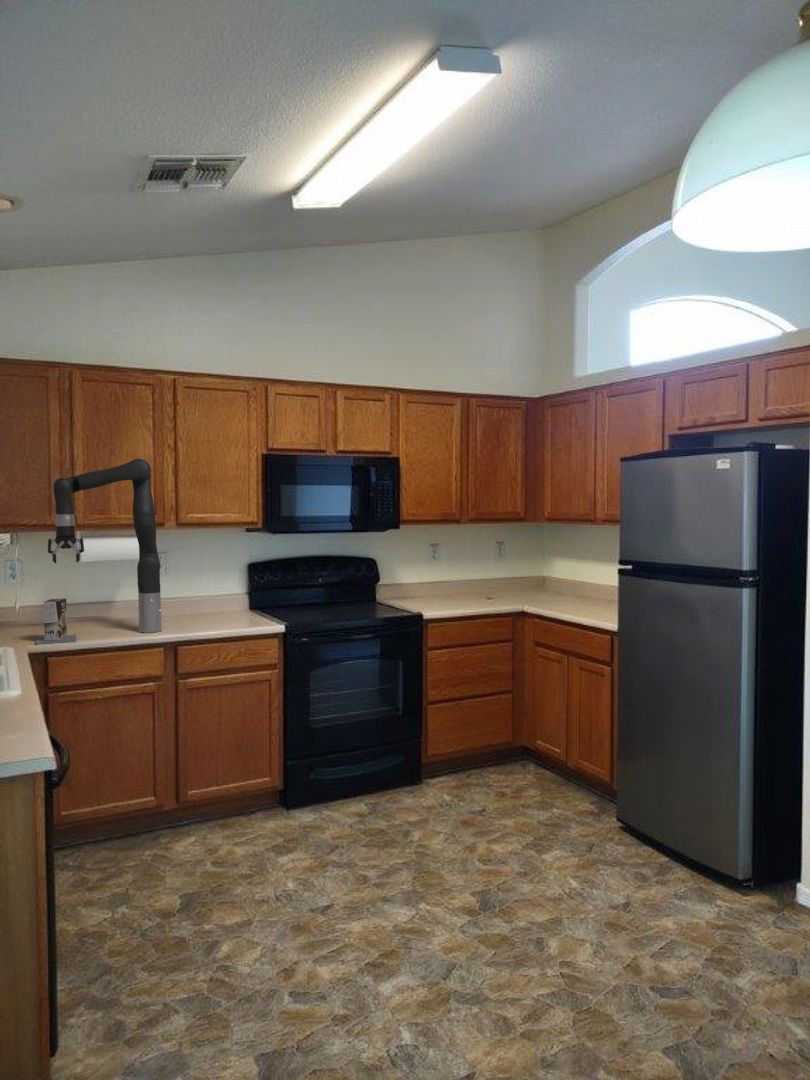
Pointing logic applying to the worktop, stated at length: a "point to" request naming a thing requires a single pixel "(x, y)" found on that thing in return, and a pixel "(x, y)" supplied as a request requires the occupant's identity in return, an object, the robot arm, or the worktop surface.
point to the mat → (67, 639)
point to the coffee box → (55, 619)
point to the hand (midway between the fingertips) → (66, 562)
